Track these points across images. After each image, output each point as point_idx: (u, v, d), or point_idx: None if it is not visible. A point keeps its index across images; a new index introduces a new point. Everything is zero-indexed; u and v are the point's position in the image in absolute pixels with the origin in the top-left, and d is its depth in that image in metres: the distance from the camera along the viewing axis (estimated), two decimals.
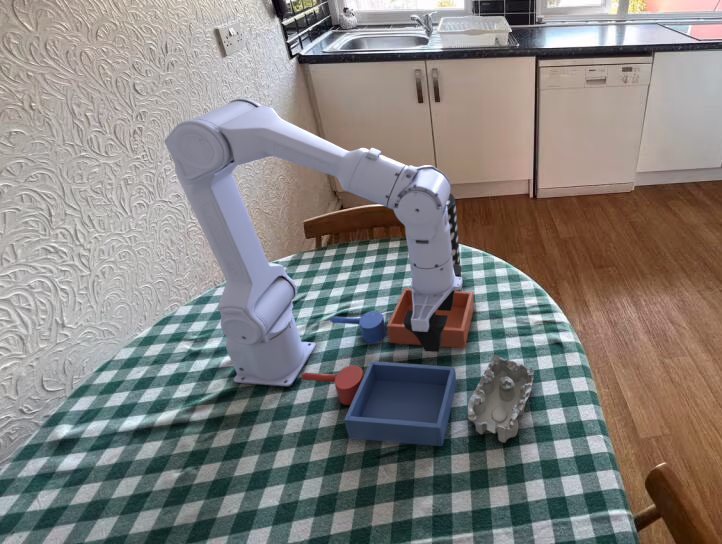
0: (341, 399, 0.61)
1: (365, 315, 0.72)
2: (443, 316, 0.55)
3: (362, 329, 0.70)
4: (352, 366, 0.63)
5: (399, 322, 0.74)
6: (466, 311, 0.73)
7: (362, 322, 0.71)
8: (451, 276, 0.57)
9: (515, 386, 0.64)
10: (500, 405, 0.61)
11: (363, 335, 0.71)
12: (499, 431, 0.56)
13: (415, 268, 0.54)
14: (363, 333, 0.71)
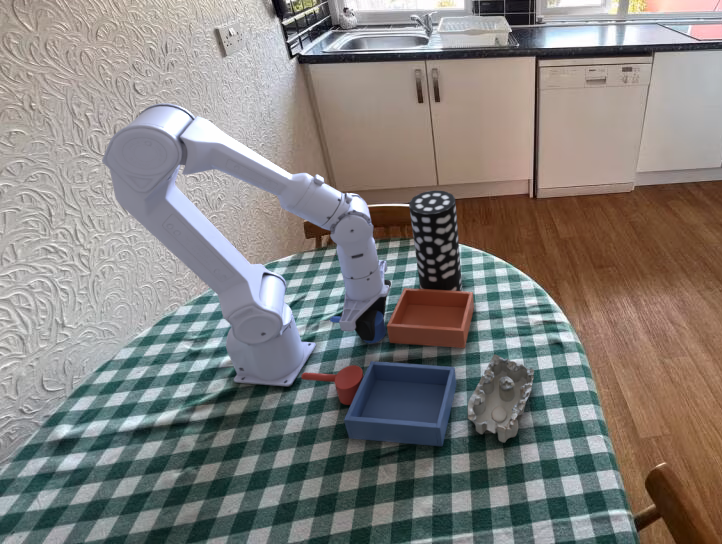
0: (341, 399, 0.61)
1: None
2: (374, 311, 0.67)
3: None
4: (352, 366, 0.63)
5: (399, 322, 0.74)
6: (466, 311, 0.73)
7: None
8: (379, 285, 0.68)
9: (515, 386, 0.64)
10: (500, 405, 0.61)
11: None
12: (499, 431, 0.56)
13: (345, 278, 0.65)
14: None
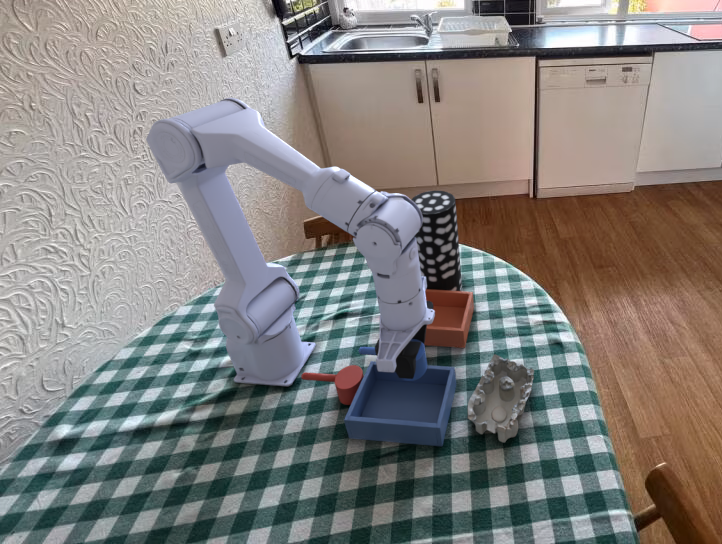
0: (341, 399, 0.61)
1: None
2: (416, 343, 0.53)
3: None
4: (352, 366, 0.63)
5: None
6: (466, 311, 0.73)
7: None
8: (422, 309, 0.53)
9: (515, 386, 0.64)
10: (500, 405, 0.61)
11: None
12: (499, 431, 0.56)
13: (382, 303, 0.51)
14: None
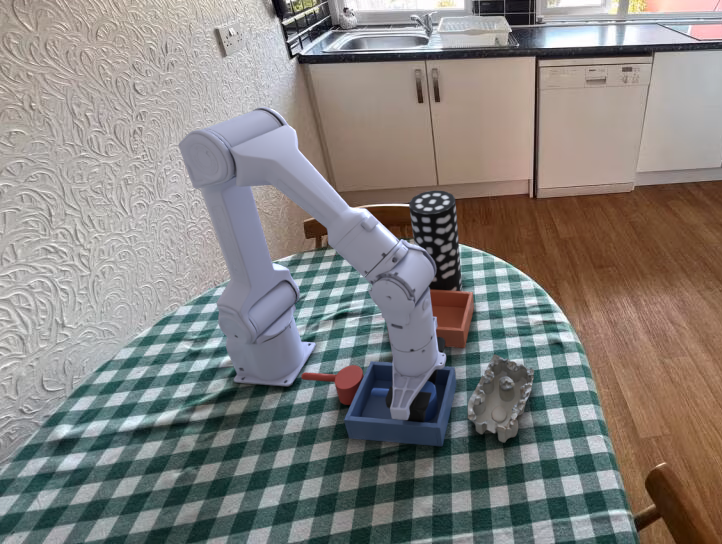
0: (341, 399, 0.61)
1: None
2: (426, 394, 0.53)
3: None
4: (352, 366, 0.63)
5: None
6: (466, 311, 0.73)
7: None
8: (434, 355, 0.55)
9: (515, 386, 0.64)
10: (500, 405, 0.61)
11: None
12: (499, 431, 0.56)
13: (395, 350, 0.52)
14: None
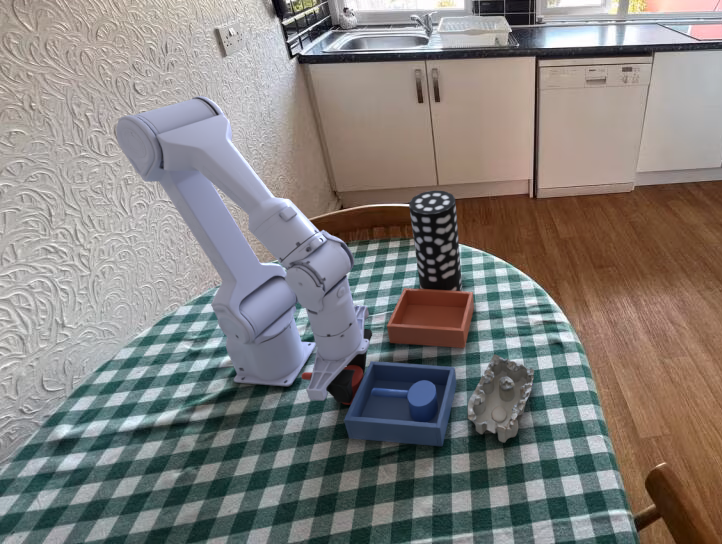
0: None
1: (414, 387, 0.60)
2: (350, 371, 0.57)
3: (412, 406, 0.57)
4: (352, 366, 0.63)
5: (399, 322, 0.74)
6: (466, 311, 0.73)
7: (411, 397, 0.58)
8: (356, 340, 0.58)
9: (515, 386, 0.64)
10: (500, 405, 0.61)
11: (412, 413, 0.58)
12: (499, 431, 0.56)
13: (315, 335, 0.55)
14: (412, 411, 0.58)
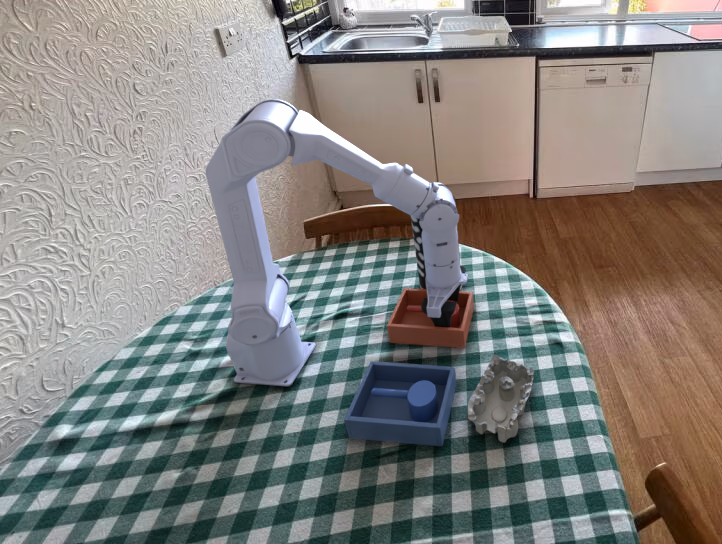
0: None
1: (414, 387, 0.60)
2: (453, 302, 0.68)
3: (412, 406, 0.57)
4: None
5: (399, 322, 0.74)
6: (466, 311, 0.73)
7: (411, 397, 0.58)
8: (459, 273, 0.69)
9: (515, 386, 0.64)
10: (500, 405, 0.61)
11: (412, 413, 0.58)
12: (499, 431, 0.56)
13: (429, 266, 0.66)
14: (412, 411, 0.58)
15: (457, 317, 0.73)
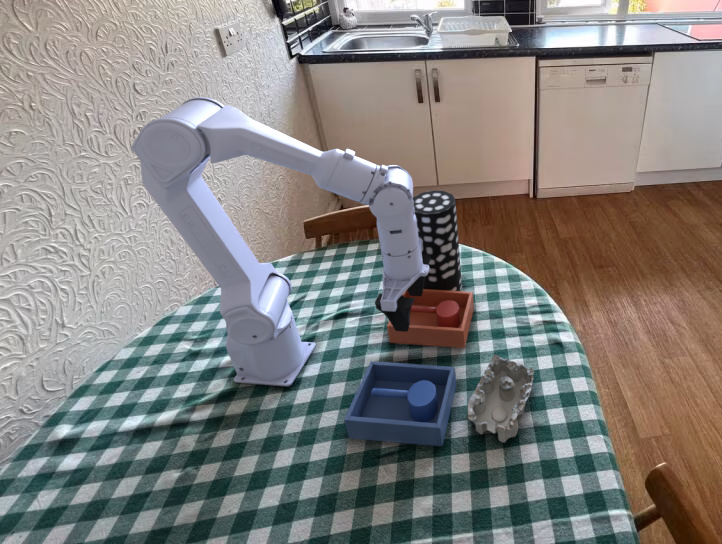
0: None
1: (414, 387, 0.60)
2: (410, 298, 0.62)
3: (412, 406, 0.57)
4: (448, 301, 0.75)
5: None
6: (466, 311, 0.73)
7: (411, 397, 0.58)
8: (419, 264, 0.64)
9: (515, 386, 0.64)
10: (500, 405, 0.61)
11: (412, 413, 0.58)
12: (499, 431, 0.56)
13: (385, 256, 0.61)
14: (412, 411, 0.58)
15: (457, 317, 0.73)
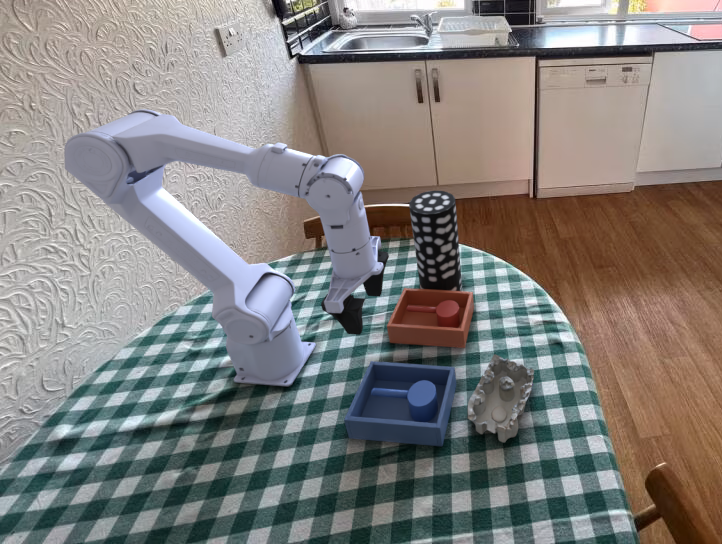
0: None
1: (414, 387, 0.60)
2: (360, 299, 0.57)
3: (412, 406, 0.57)
4: (448, 301, 0.75)
5: (399, 322, 0.74)
6: (466, 311, 0.73)
7: (411, 397, 0.58)
8: (370, 261, 0.59)
9: (515, 386, 0.64)
10: (500, 405, 0.61)
11: (412, 413, 0.58)
12: (499, 431, 0.56)
13: (332, 253, 0.56)
14: (412, 411, 0.58)
15: (457, 317, 0.73)
